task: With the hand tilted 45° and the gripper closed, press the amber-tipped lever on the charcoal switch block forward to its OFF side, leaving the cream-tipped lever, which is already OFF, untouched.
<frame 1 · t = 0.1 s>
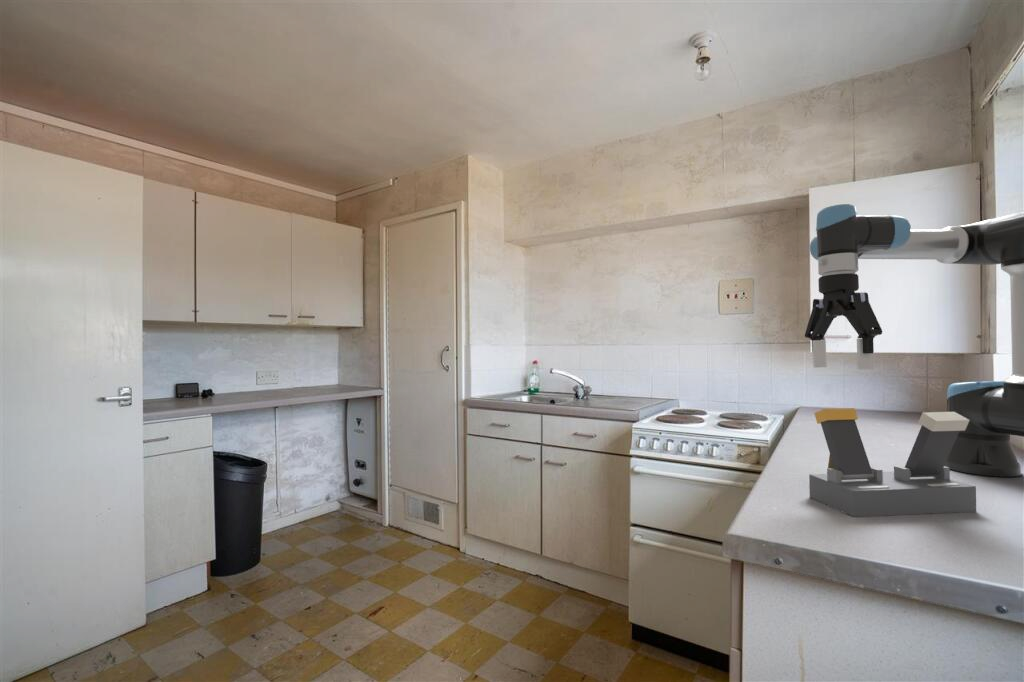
hand: (841, 368, 108), 28 cm above the countertop, tool pointing down, fingers open, 13 cm apart
cream lever: (932, 447, 97), point 12 cm above the countertop, hinge at 23.0°
switch block: (888, 504, 99), on the countertop
amber lever: (844, 444, 101), point 12 cm above the countertop, hinge at -23.0°
cork: (841, 478, 118), on the countertop
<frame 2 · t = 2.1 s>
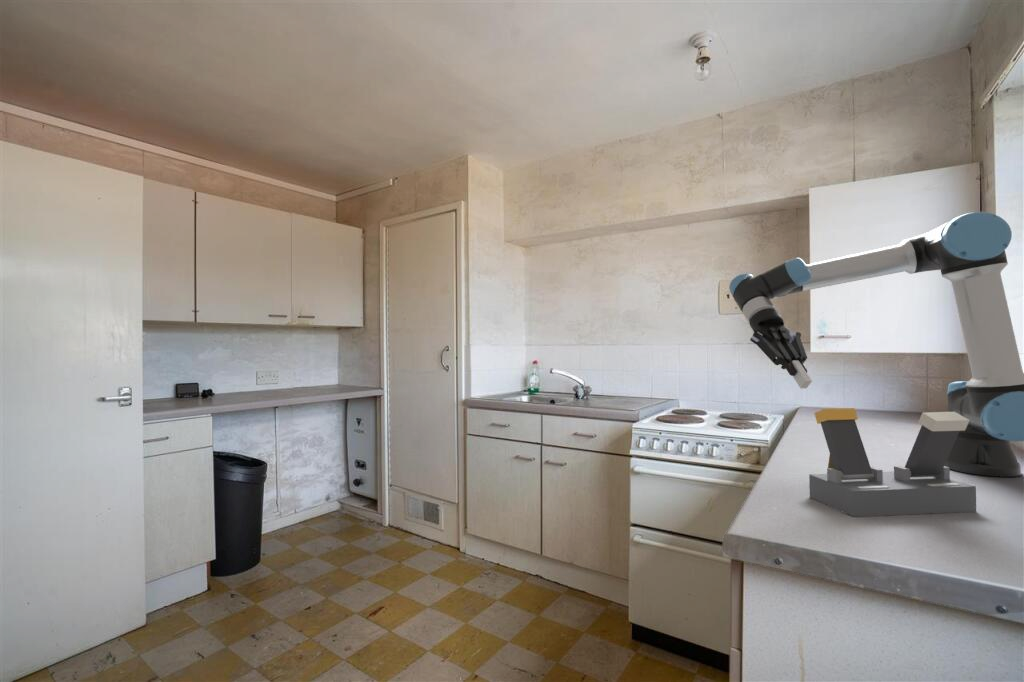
hand: (806, 384, 112), 24 cm above the countertop, tool tilted 45°, fingers closed
nothing on the countertop moved.
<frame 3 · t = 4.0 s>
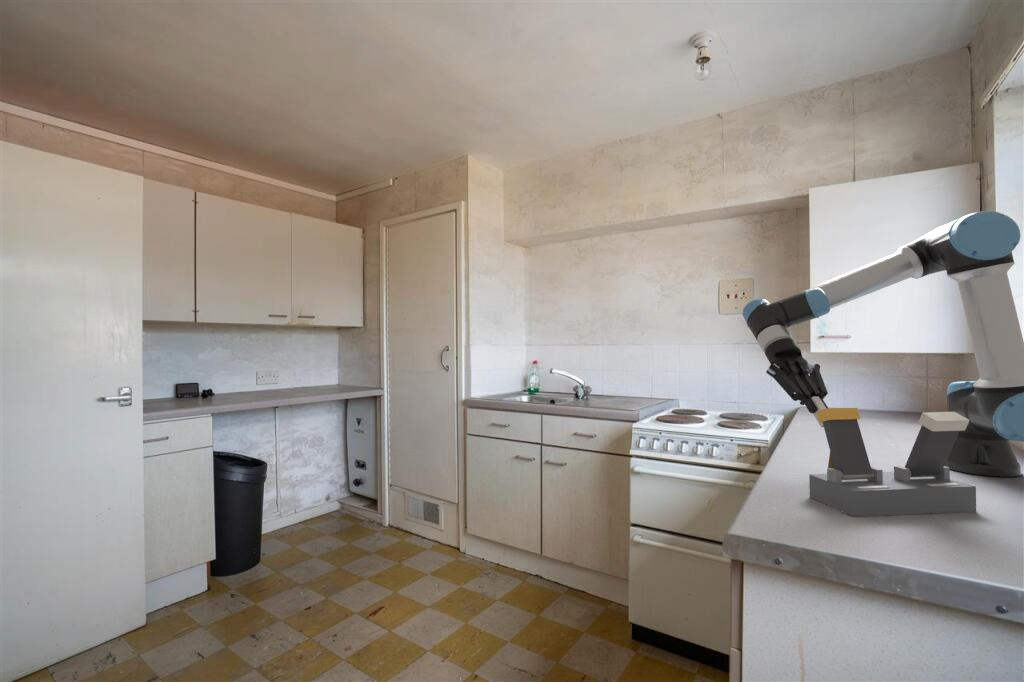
hand: (827, 423, 105), 16 cm above the countertop, tool tilted 45°, fingers closed
amber lever: (846, 443, 101), point 12 cm above the countertop, hinge at -19.7°, touching gripper
everything else where it was.
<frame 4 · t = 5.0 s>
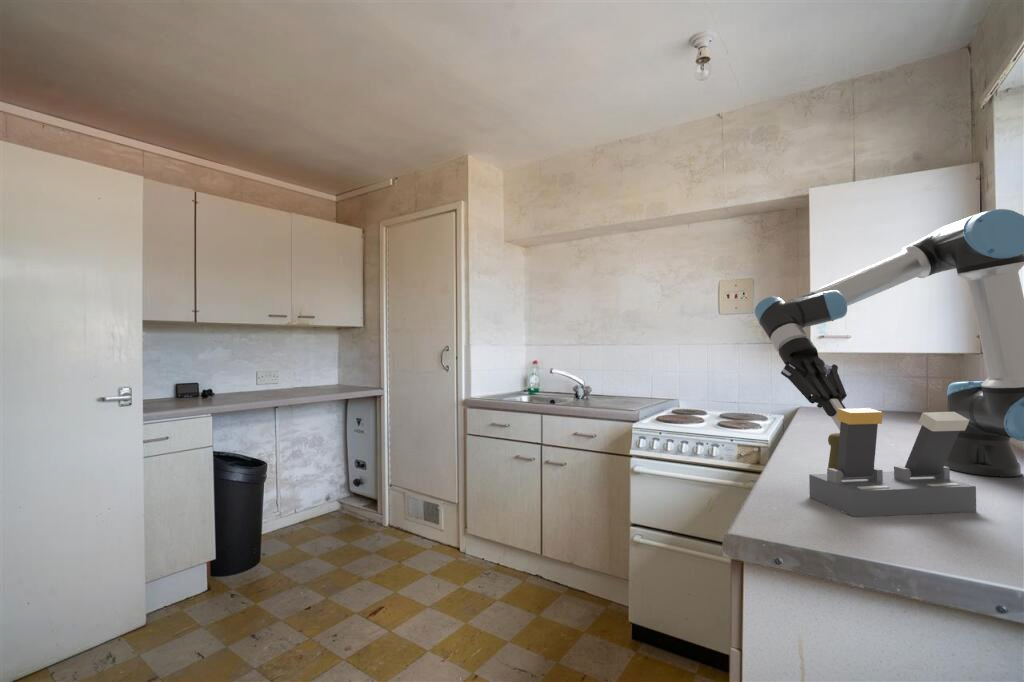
hand: (847, 427, 100), 16 cm above the countertop, tool tilted 45°, fingers closed
amber lever: (857, 445, 98), point 13 cm above the countertop, hinge at 7.1°, touching gripper
everything else where it was.
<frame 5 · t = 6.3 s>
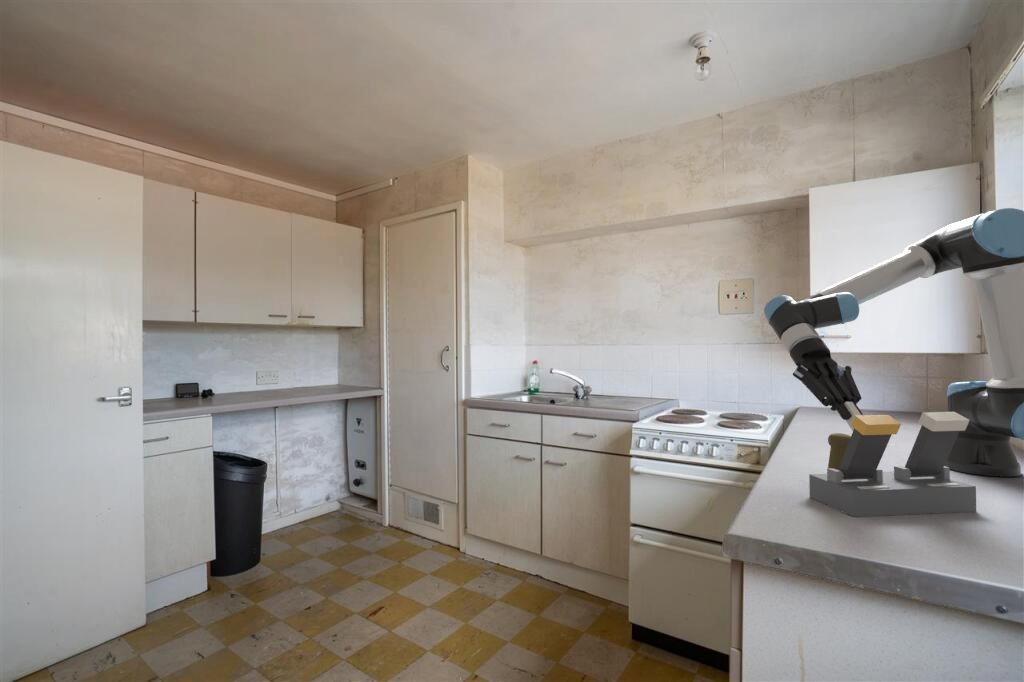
hand: (862, 431, 96), 16 cm above the countertop, tool tilted 45°, fingers closed
amber lever: (865, 449, 96), point 12 cm above the countertop, hinge at 25.5°, touching gripper
everything else where it was.
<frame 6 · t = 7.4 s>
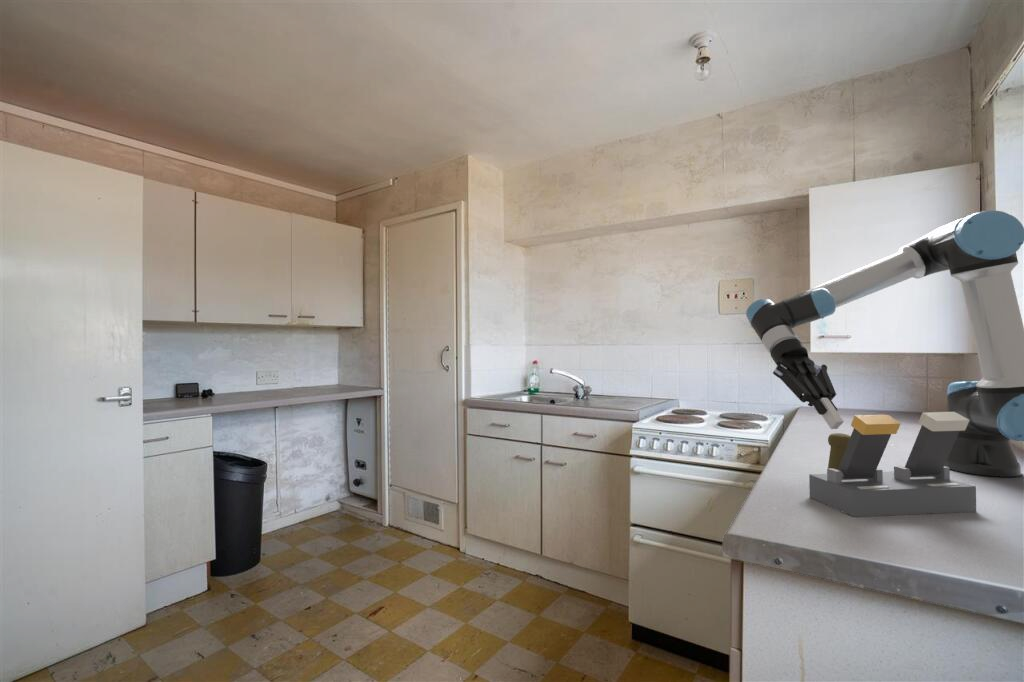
hand: (837, 425, 103), 16 cm above the countertop, tool tilted 45°, fingers closed
amber lever: (864, 449, 96), point 12 cm above the countertop, hinge at 25.0°
everything else where it was.
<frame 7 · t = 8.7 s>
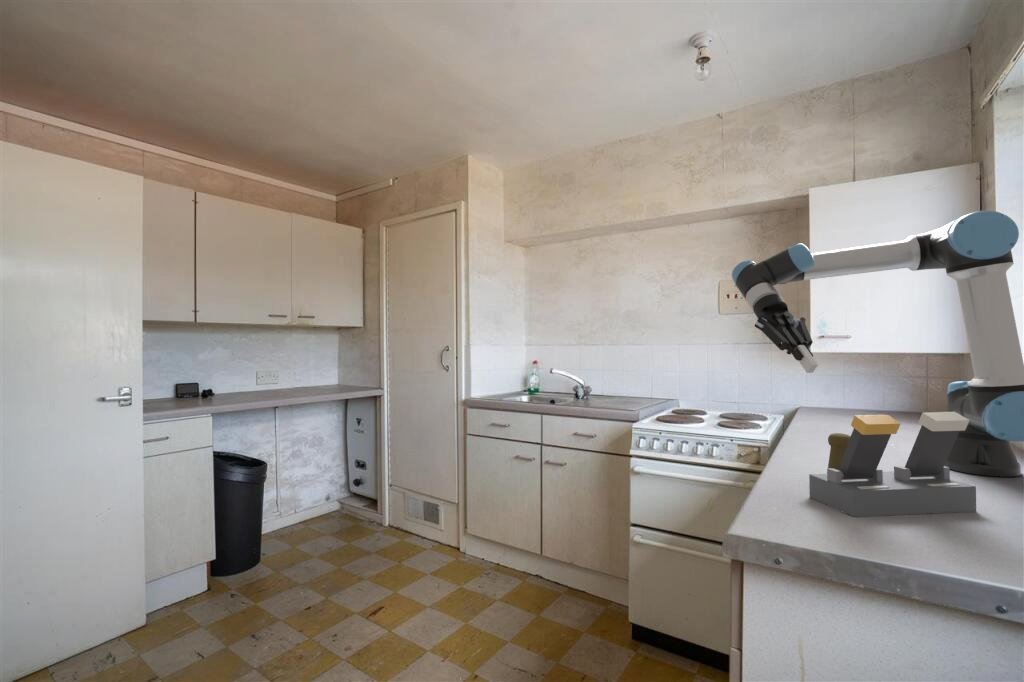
hand: (812, 368, 111), 28 cm above the countertop, tool tilted 45°, fingers closed
nothing on the countertop moved.
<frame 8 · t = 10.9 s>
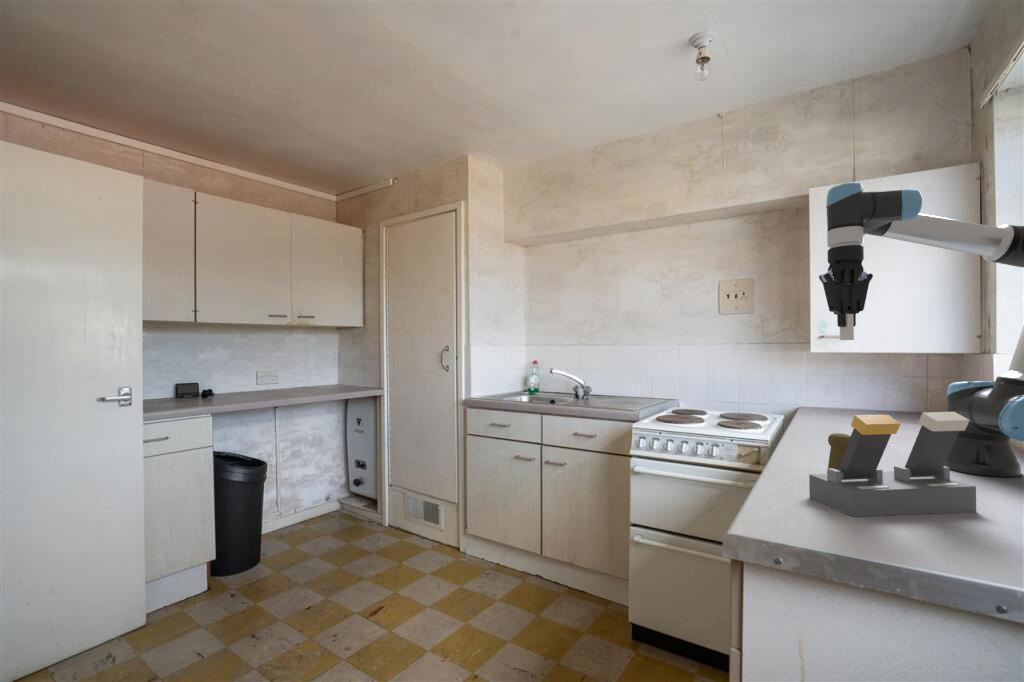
hand: (846, 339, 120), 34 cm above the countertop, tool pointing down, fingers closed
nothing on the countertop moved.
at the end: amber lever at +25° (first picture: -23°); cream lever at +23° (first picture: +23°) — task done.
